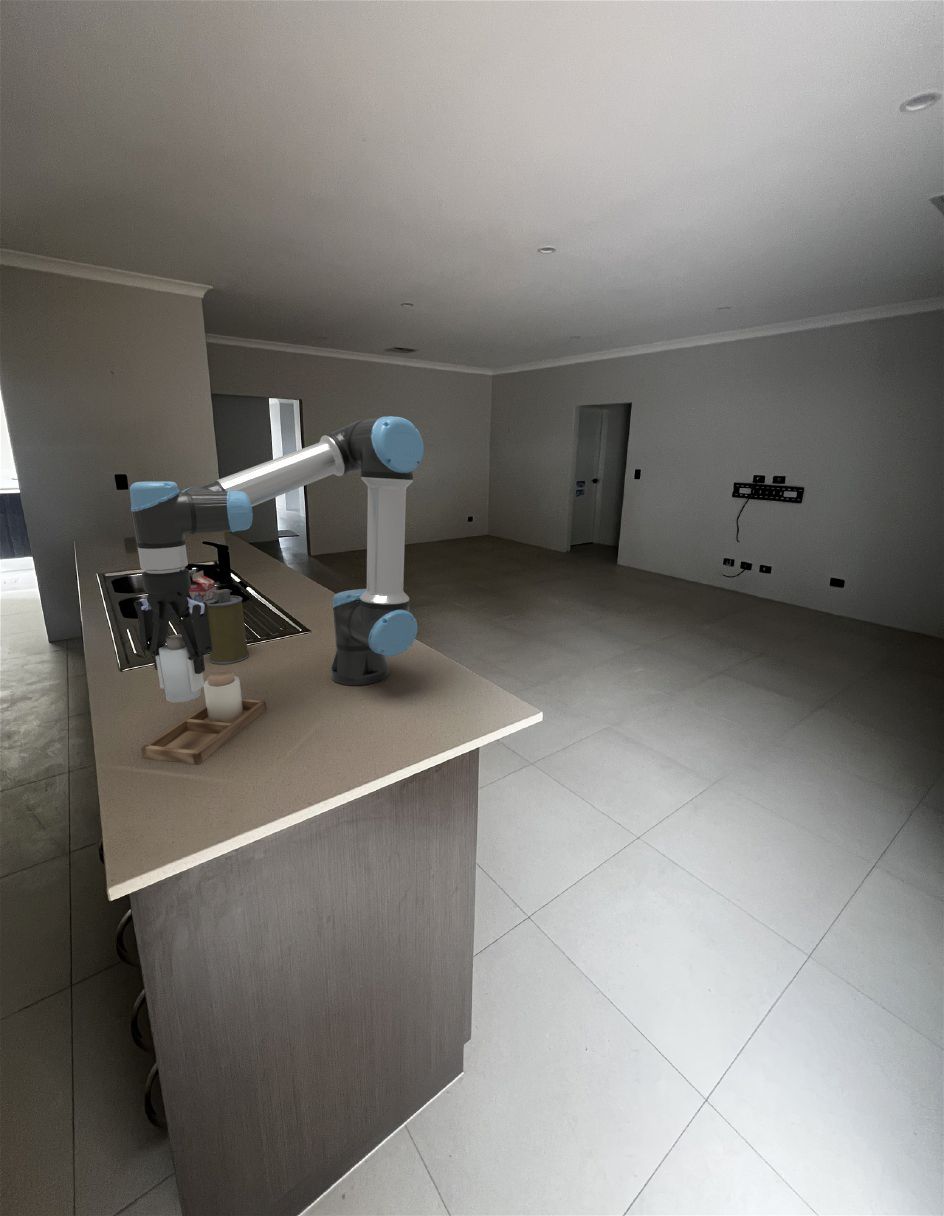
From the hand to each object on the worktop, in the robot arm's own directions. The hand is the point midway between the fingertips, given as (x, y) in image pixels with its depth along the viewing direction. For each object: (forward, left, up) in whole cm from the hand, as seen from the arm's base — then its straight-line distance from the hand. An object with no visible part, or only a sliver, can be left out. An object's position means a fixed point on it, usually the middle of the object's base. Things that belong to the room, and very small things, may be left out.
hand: (182, 686), depth 104 cm
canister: (+24, -47, -14) cm, 54 cm away
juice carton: (+40, -59, -14) cm, 72 cm away
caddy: (0, -6, -13) cm, 15 cm away
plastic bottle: (0, 0, -2) cm, 2 cm away
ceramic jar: (0, -11, -13) cm, 17 cm away
